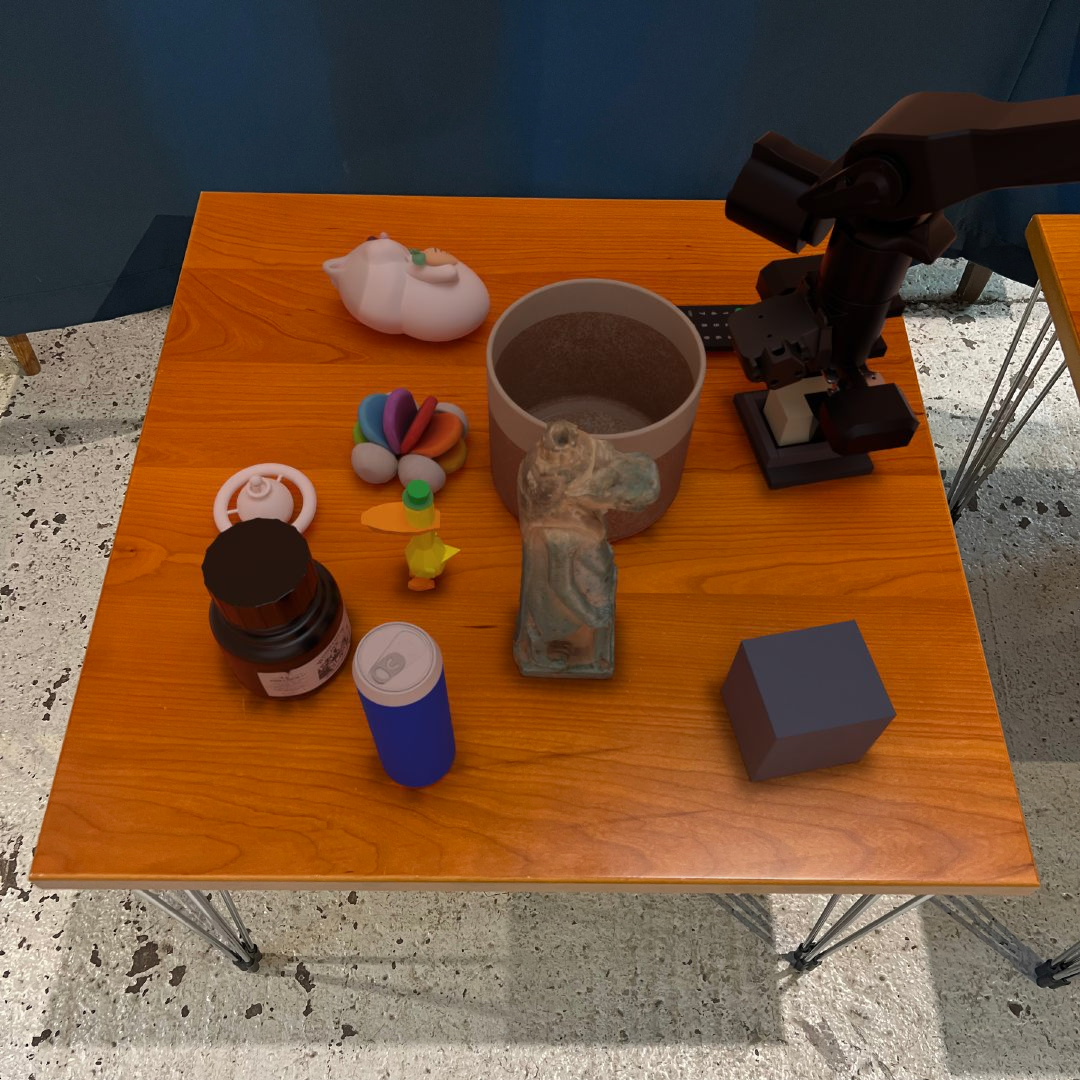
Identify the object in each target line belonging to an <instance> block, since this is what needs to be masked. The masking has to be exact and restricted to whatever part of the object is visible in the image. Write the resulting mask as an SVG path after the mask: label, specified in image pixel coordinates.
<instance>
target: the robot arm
mask: <svg viewBox="0 0 1080 1080" xmlns="http://www.w3.org/2000/svg"><path fill="white" fill-rule="evenodd" d="M1069 184H1070V185H1072V184H1080V94H1074V95H1066V96H1059V97H1051V98H1044V99H1037V100H1030V101H1022V102H1009V101H1008V102H1005V101H996V100H993V99H991V98H988V97H985V96H982V95H980V94H977V93H974V92H960V91H918V92H915V93H913V94H909V95H905V96H904V97H903V98H901V99H900V100H898V101H897V102H896V103H895V104H894V105H893V106H891V108H889V110H887V111H886V112H884V114H883V115H882V116H881V117H880V118H878V119H877V120H876V121H875V122H874V123H873V124H872V125H871V126H869V128H867V129H866V130H865V131H864V132H863V133H862V134H861V135H860V136H858V138H856V139H855V140H854V141H853V142H852V143H851V145H850V146H849V148H848V149H846V151H845V152H844V153H842V155H840V156H839V157H838V158H837V159H836V160H835V161H834V162H833V161H830V160H829V159H826V158H825V157H823V156H821V155H818V154H816V153H814V152H812V151H809V150H808V149H805V148H804V147H801V146H799V145H797V144H795V143H793V142H792V141H791V140H789V139H788V138H787V137H786V136H784V135H782V134H780V133H778V132H776V131H774V130H769V131H767V132H766V133H764V135H762V136H761V137H760V138H758V139H757V140H756V141H755V142H754V143H753V145H752V150H751V153H750V157H749V158H748V159H747V160H746V162H745V163H744V165H743V166H742V169H741V170H740V172H739V173H738V175H737V177H736V179H735V182H734V184H733V186H732V188H731V190H729V191H728V193H727V195H726V199H725V203H724V217H725V219H726V220H728V221H730V222H732V223H734V224H736V225H738V226H740V227H741V228H744V229H746V230H747V231H749V232H751V233H753V234H755V235H757V236H759V237H761V238H763V239H765V240H767V241H768V242H771V243H773V244H774V245H775V246H778V247H780V248H782V249H784V250H786V251H788V252H790V253H792V254H795V255H799V254H800V253H801V251H802V250H803V249H805V248H806V246H807V245H809V246H810V247H812V248H815V247H818V246H819V245H821V243H823V241H824V240H825V239H826V238H827V236H828V235H829V233H830V236H829V239H828V242H827V245H826V248H825V251H824V253H819V254H812V255H804V256H796V257H788V258H780V259H774V260H771V261H770V262H769V263H767V264H766V265H764V266H763V267H762V268H761V269H760V270H759V273H758V277H757V281H756V283H755V290H756V292H757V295H758V296H759V299H760V300H761V301H758V302H756V303H753V305H751V306H748V307H746V308H743V309H740V310H738V311H736V312H734V313H732V314H731V315H730V316H729V318H728V321H727V323H728V328H729V332H730V336H731V340H732V344H733V348H734V354H735V355H736V357H737V360H738V362H739V364H740V367H741V370H742V371H743V374H744V377H745V378H746V380H747V381H748V382H750V383H753V384H761V383H764V384H765V386H766V389H770V390H777V389H780V388H783V387H785V386H788V385H791V384H793V383H796V382H799V381H801V380H802V379H804V378H811V377H818V376H824V378H825V380H826V382H827V383H828V384H832V388H833V389H832V388H828V389H827V391H821V392H815V393H808V394H804V397H805V399H806V401H807V403H808V405H809V408H810V410H811V412H812V414H813V418H812V422H811V427H810V432H809V441H810V442H811V443H814V442H820V441H823V440H824V439H827V441H828V443H829V445H830V447H831V449H832V451H833V452H834V453H836V454H839V455H841V456H849V455H855V454H862V453H868V454H869V453H874V452H880V451H886V450H892V449H899V448H905V447H908V446H909V445H910V443H911V441H912V439H913V438H914V435H915V434H916V432H917V430H918V428H919V426H920V424H921V422H920V420H919V418H918V417H917V415H916V413H915V411H914V410H913V408H912V406H911V404H910V402H909V401H908V398H907V396H906V395H905V393H904V391H903V389H902V388H901V387H900V386H898V385H897V383H895V382H889V383H888V382H887V383H886V381H885V379H884V377H883V375H882V374H881V373H880V372H877V371H874V370H871V369H870V368H869V365H868V364H867V361H868V360H873V359H878V358H884V357H885V355H886V353H887V351H888V349H889V347H888V345H887V343H886V341H885V340H884V337H883V335H882V332H883V329H884V328H885V327H884V326H885V325H886V322H887V320H888V319H892V318H901V317H903V315H904V312H905V310H906V307H907V305H906V303H905V301H904V300H903V298H902V297H901V294H900V293H899V292H900V289H901V287H902V284H903V282H904V280H905V279H906V275H907V273H908V270H909V268H910V266H911V263H912V261H913V260H915V261H917V262H919V263H921V264H923V265H925V266H931V265H933V264H934V263H935V262H936V261H937V260H938V258H940V257H941V256H942V254H943V253H944V252H946V250H947V249H949V247H950V246H951V245H952V243H953V242H954V241H955V240H956V239H957V237H958V234H957V231H956V230H955V228H954V227H953V225H952V223H951V222H950V221H949V220H947V218H946V216H945V215H944V210H946V209H949V208H950V207H953V206H956V205H958V204H960V203H962V202H965V201H967V200H969V199H971V198H974V197H976V196H979V195H983V194H986V193H989V192H990V193H991V192H993V191H994V192H995V191H997V190H1006V189H1016V188H1017V189H1018V188H1031V187H1044V186H1045V187H1046V186H1057V185H1069Z"/></svg>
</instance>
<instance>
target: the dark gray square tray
mask: <svg viewBox="0 0 1080 1080" xmlns="http://www.w3.org/2000/svg"><path fill="white" fill-rule="evenodd" d="M769 391H770V389H768V388H763V389H756V390H749V391H742V392H736V393H734V394H733V397H732V403H733V406H734V408H735V411H736V413H737V416H738V418H739V420H740V423H741V425H742V427H743V430H744V432H745V434H746V437H747V439H748V443H749V444H750V447H751V449H752V451H753V455H754V456H755V459H756V461H757V463H758V466H759V468H760V471H761V473H762V476H763V478H764V480H765V482H766V483H765V484H766V485H767V487H768V490H769V491H774V490H780V489H787V488H794V487H798V486H799V487H800V486H805V485H811V484H817V483H823V482H830V481H831V482H832V481H836V480H842V479H848V478H855V477H862V476H867V475H872V473H873V471H874V469H875V465H874V462H873V461H872V459H871V457H870V455H869V452H868V453H862V454H855V455H849V456H841V455H839V454H836V453H834V452H833V451H832V449H831V447H830V445H829V443H828V441H827V439H824V440H823V441H820V442H814V443H811V442H803V443H797V444H791V445H784V446H778V443H777V441H776V439H775V437H774V434H773V432H772V430H771V427H770V425H769V423H768V421H767V418H766V416H765V414H764V411H763V410H764V407H765V404H766V401H767V398H768V394H769Z"/></svg>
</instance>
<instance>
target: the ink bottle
mask: <svg viewBox="0 0 1080 1080" xmlns="http://www.w3.org/2000/svg"><path fill="white" fill-rule="evenodd" d="M232 525H233V526H231V527H230V528H228V529H227V530H225V531H223V532H219V533H218V534H217V535H216V537H215V538H214V540H213V541H212V542H211V544H209V546H208V547H207V548H206V549H205V554H204V558H203V561H202V563H201V566H200V567H201V571H202V577H203V584H204V586H205V588H206V590H207V591H208V594H209V596H210V597H211V600H210V603H209V609H208V621H209V627H210V630H211V633H212V636H213V638H214V640H215V641H216V643H217V645H218V647H219V649H220V651H221V652H222V654H223V656H224V658H225V659H226V661H227V663H228V664H229V666H230V668H231V671H232V672H233V673H234V675H235V677H236V678H237V680H238V681H239V682H240V683H241V684H242V685H243V686H244V687H245V688H247V689H248V690H249V691H251V692H252V693H255V694H256V695H258V696H260V697H262V698H263V697H264V698H266V699H270V700H275V701H295V700H301V699H304V698H306V697H310V696H312V695H314V694H315V693H317V692H319V691H320V690H322V689H323V688H325V687H326V686H327V685H329V684H330V683H331V682H332V681H333V680H334V679H335V678H336V677H337V676H338V675H339V674H340V672H341V671H342V669H343V668H344V667H345V665H346V663H347V661H348V659H349V657H350V654H351V651H352V645H353V631H352V626H351V622H350V619H349V616H348V612H347V610H346V606H345V602H344V600H343V599H344V598H343V596H342V593H341V590H340V588H339V587H340V586H339V584H338V582H337V580H336V578H335V577H334V575H333V574H332V573H331V571H329V569H328V568H327V567H326V566H325V565H324V564H322V563H321V562H320V561H319V560H317V559H315V558H314V557H313V555H312V551H311V548H310V546H309V543H308V540H307V538H306V537H304V536H303V534H301V533H300V532H299V531H298V530H297V528H296V527H295V526H293V525H292V524H290V523H285V522H283V521H281V520H280V519H269V518H260V517H258V518H254V519H251V520H247V521H243V522H242V521H238V522H235V523H234V524H232Z"/></svg>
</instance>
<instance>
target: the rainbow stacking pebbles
mask: <svg viewBox="0 0 1080 1080" xmlns="http://www.w3.org/2000/svg"><path fill="white" fill-rule="evenodd" d="M412 393H413V392H411V391H410V390H408V389H407V388H404V387H403V388H402V387H398V388H396V389H394V390H392V391H388V392H386V393H381V392H380V393H379V392H376V393H372V394H369V395H367V396H366V397H364V398H363V399H362V400H361V402H360V403H359V404H358V408H357V420H356V422H355V423H354V425H353V428H352V441H353V443H354V447H353V449H352V450H351V454H350V455H351V456H350V457H351V458H350V461H351V466H352V469H353V471H354V472H355V474H356V475H357V476H358V477H359V478H360V479H361V480H363V481H364V482H367V483H369V484H375V485H377V484H379V485H380V484H385V483H388V482H389V481H391V480H392V479H393V478H395V477H396V475H397V476H398V478H399V481H400V483H401V484H402V486H403V487H404V488H405V489H406V488H407V486H408V484H409V483H410V481H414V480H418V479H420V480H423V481H425V482H427V483H428V485H429V487H430V490H431V492H432V493H433V494H435V493H437V492H438V491H440V490H441V489H442V488H443V487H444V486H445V484H446V482H447V481H446V480H447V476H446V475H447V474H448V475H449V474H453V473H455V472H456V471H458V470H460V469H461V468H463V466H464V465H465V463H466V461H467V457H468V448H467V445H466V442H465V439H467V437H468V435H469V431H470V424H469V423H470V422H469V420H468V417H467V415H466V413H465V411H463V410H462V408H461V407H459V406H457V405H456V404H454V403H450V402H445V401H444V402H439V400H438V398H437V397H435V396H434V395H429V396H427V397H426V398H424V401H423V402H422V404H421V405H420V406H419V404H418V402H417V400H415V398H414V396H413V395H414V394H412ZM402 454H403V456H402Z"/></svg>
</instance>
